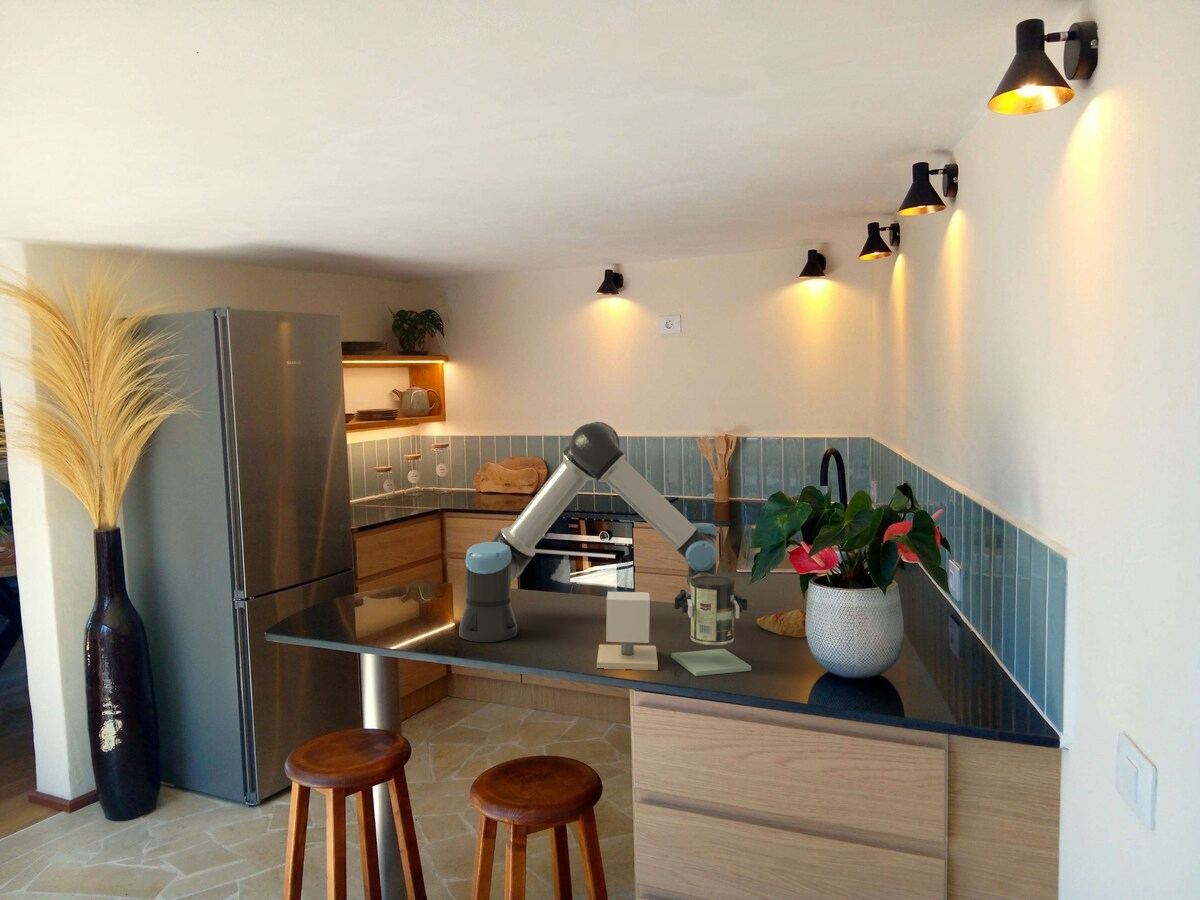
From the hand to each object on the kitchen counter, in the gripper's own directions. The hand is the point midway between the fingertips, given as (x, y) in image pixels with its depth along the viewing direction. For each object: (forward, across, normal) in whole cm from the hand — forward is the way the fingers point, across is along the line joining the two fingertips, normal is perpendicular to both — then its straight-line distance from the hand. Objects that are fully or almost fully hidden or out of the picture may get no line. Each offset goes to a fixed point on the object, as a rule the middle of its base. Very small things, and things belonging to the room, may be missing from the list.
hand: (714, 612), depth 190 cm
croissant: (-32, -25, -14) cm, 43 cm away
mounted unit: (-6, +20, -13) cm, 25 cm away
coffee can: (-4, 0, -8) cm, 9 cm away
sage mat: (-4, 0, -14) cm, 14 cm away
